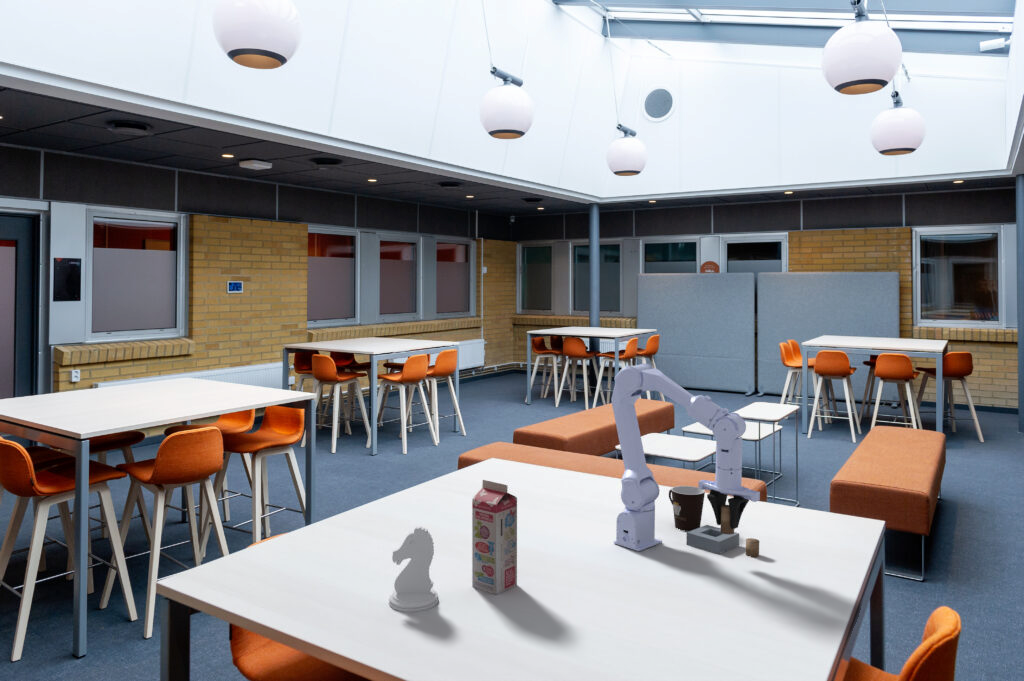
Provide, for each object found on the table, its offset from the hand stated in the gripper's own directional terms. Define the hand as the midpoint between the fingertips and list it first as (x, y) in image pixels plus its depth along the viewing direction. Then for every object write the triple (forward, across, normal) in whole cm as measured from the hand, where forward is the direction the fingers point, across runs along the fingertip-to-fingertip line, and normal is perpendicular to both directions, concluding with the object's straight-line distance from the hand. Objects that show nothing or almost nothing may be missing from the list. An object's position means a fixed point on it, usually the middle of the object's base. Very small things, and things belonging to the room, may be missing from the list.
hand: (727, 525), depth 163 cm
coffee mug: (+9, +21, -15) cm, 28 cm away
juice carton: (+9, +25, +49) cm, 55 cm away
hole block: (+8, +8, -8) cm, 14 cm away
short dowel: (+8, -2, -8) cm, 12 cm away
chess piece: (+9, +30, +66) cm, 73 cm away
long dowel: (+2, 0, 0) cm, 2 cm away
